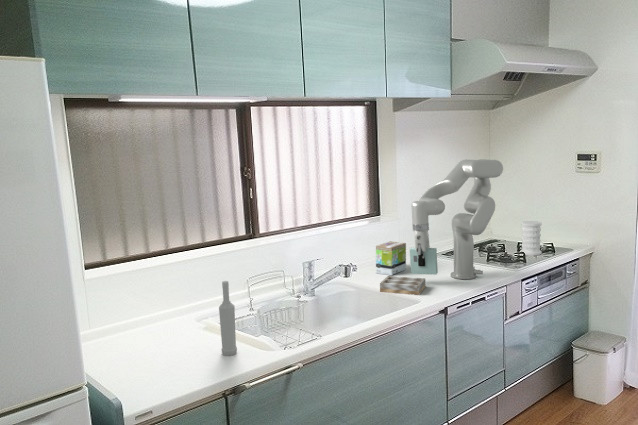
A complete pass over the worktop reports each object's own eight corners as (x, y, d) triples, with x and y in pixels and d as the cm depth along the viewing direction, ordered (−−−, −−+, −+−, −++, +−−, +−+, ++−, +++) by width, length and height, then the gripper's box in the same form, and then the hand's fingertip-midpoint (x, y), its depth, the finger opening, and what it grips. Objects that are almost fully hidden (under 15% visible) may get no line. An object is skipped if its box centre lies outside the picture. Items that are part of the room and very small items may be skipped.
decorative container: (543, 251, 321) (543, 221, 319) (539, 256, 312) (540, 224, 309) (522, 250, 327) (522, 220, 325) (518, 254, 317) (519, 223, 315)
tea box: (392, 276, 280) (391, 247, 278) (375, 273, 286) (374, 245, 284) (406, 269, 292) (406, 242, 289) (390, 267, 298) (389, 240, 296)
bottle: (237, 355, 186) (233, 283, 182) (222, 357, 185) (217, 284, 181) (236, 349, 191) (232, 279, 187) (221, 351, 190) (217, 280, 186)
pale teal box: (437, 272, 262) (436, 247, 260) (436, 274, 258) (434, 249, 256) (412, 271, 266) (411, 247, 264) (411, 273, 263) (409, 249, 261)
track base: (425, 286, 259) (425, 278, 258) (418, 295, 246) (418, 286, 245) (388, 283, 266) (388, 275, 265) (380, 291, 253) (379, 283, 252)
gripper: (424, 231, 250) (427, 270, 253) (432, 223, 265) (434, 260, 268) (408, 231, 253) (410, 269, 256) (416, 223, 268) (418, 260, 271)
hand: (422, 264), depth 262 cm, fingers closed on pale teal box, 3 cm apart
